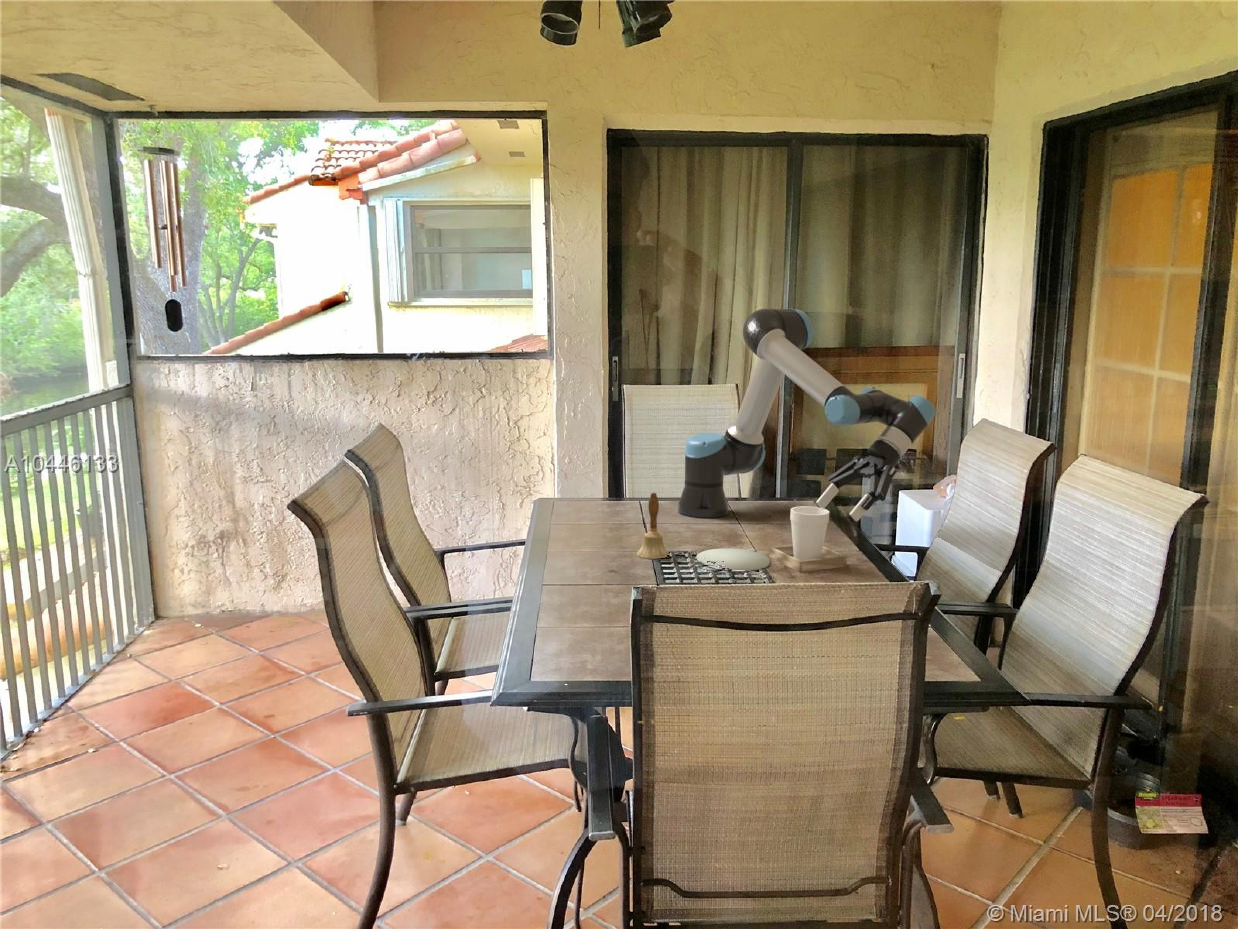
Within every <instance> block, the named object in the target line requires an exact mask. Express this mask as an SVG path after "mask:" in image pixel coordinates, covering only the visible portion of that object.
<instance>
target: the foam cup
mask: <svg viewBox="0 0 1238 929" xmlns="http://www.w3.org/2000/svg"><path fill="white" fill-rule="evenodd" d="M789 514H790V515H789V517H790V518H789V520H790V524H791V525H790V526H791V537H792V538H791V540H792V545H793V553H794V555H793V557H794V558H796V559H798V560H800V561H803V560H812V559H821V558H822V557H821V555H822V550H823V546H824V544H825V540H826V534H827V529H828V528H827V527H828V523H829V521H830V510H828V509H826V508H824V509H823V508H821V507H820V506H818V507H817V506H811V505H810V506H808V505H807V506H802V505H801V506H793V507H791V508H790V513H789Z"/></svg>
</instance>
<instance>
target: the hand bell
mask: <svg viewBox="0 0 1238 929" xmlns="http://www.w3.org/2000/svg"><path fill="white" fill-rule="evenodd" d="M659 504H660V503H659V499H658V496H657V492H651V494H650V497H649V500H648V506H647V508H648V513H649V517H650V521H649V523H650V524H649V528H650V529H649V531H648V532H646V533H645V534H644V538H643V542H642V546H641V547H640V549H639V550H638V551H636V557H638V558H641V559H645V560H653V559H658V558H665V557H667V555H669V556H670V552H669V551H668V550H667V549H666V547H665V545H664V541H663V540H664V539H663V534H662V533H661V532H659V531H658V526H657V525H658V521H657V518H658V514H659V507H660V506H659ZM667 558H668V557H667ZM665 559H666V558H665ZM658 560H659V559H658ZM653 561H654V560H653Z"/></svg>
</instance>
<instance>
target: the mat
mask: <svg viewBox="0 0 1238 929" xmlns="http://www.w3.org/2000/svg"><path fill="white" fill-rule="evenodd" d="M696 558H697V560H698V561H705V562H702V563H704V564H705V565H726V566H724V567H723V566H722V567H721V568H729V569H732V570H755V571H759V570H758V569H760V570H763V569H766V568H767V567H768V566H769V565H770V561H771V560H770V557H769V556H767V555H765V554H763V553H760V552H757V551H753V550H748V549H744V548H743V549H741V548H712V549H711V548H710V549H707V550H706V549H705V550H704V551H700V552H699V553H697V555H696ZM696 558H695V559H696ZM704 558H705V559H704ZM697 560H696V561H697ZM707 561H718V562H716V563H715V564H713V563H711V562H708V563H707ZM719 561H724V562H719ZM719 568H720V566H719ZM762 568H763V569H762Z"/></svg>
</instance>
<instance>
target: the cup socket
mask: <svg viewBox="0 0 1238 929" xmlns="http://www.w3.org/2000/svg"><path fill="white" fill-rule="evenodd" d="M768 558H769V559H773V560H774V561H777V562H778V563H781V564H782V565H784V566H787V567H788V568H790V569H792V570H794V571H796V572H799V573H801V572H810V571H811V572H812V571H820V570H830V569H837V568H844V567H845V568H846V567H847V563H848V556H846V555H844V554H841V553H840V552H838V551H835V550H833V549H831V548H828V547H826V546H824V545H823V550H822V555H821V559H812V560H803V561H800V560H798V559H796V558H794V553H793V544H788V545H778V546H769V547H768Z"/></svg>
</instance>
